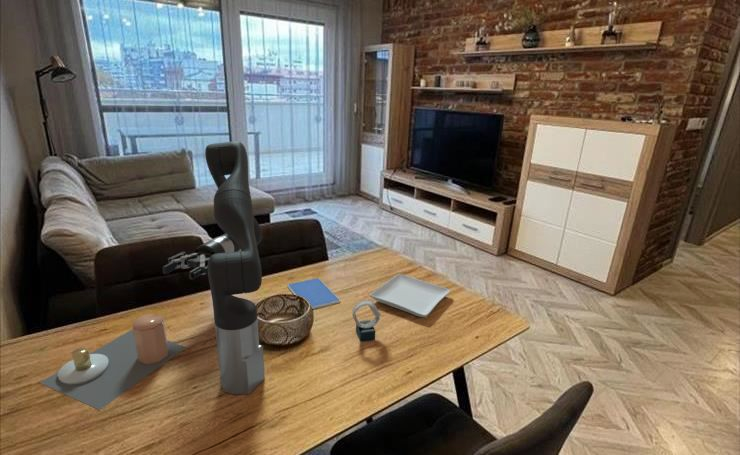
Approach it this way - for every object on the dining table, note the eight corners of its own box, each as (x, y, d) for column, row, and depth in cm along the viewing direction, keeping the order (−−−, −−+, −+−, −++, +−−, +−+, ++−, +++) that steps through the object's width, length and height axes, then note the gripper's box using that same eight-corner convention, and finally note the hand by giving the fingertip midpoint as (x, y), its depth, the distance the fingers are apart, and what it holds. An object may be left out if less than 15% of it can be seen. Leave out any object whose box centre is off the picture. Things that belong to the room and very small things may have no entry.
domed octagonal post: (173, 351, 104) (168, 317, 100) (152, 366, 98) (146, 331, 95) (155, 344, 106) (149, 311, 103) (133, 359, 100) (126, 324, 97)
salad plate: (450, 297, 139) (452, 288, 138) (425, 324, 122) (426, 314, 121) (398, 280, 150) (398, 272, 148) (367, 303, 132) (368, 294, 131)
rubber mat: (187, 348, 106) (186, 347, 106) (99, 412, 85) (99, 409, 84) (133, 330, 112) (132, 328, 112) (39, 384, 91) (39, 382, 91)
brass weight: (94, 364, 96) (91, 349, 95) (81, 372, 93) (77, 357, 92) (85, 361, 97) (82, 346, 96) (72, 369, 94) (68, 353, 93)
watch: (381, 339, 113) (383, 305, 110) (354, 342, 111) (355, 308, 108) (376, 328, 118) (377, 295, 115) (349, 331, 116) (350, 298, 113)
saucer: (118, 363, 98) (117, 360, 98) (77, 389, 90) (76, 386, 89) (90, 353, 102) (90, 349, 101) (48, 377, 93) (47, 373, 93)
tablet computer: (286, 286, 142) (286, 283, 141) (318, 279, 148) (318, 276, 147) (306, 312, 126) (305, 309, 126) (341, 303, 132) (341, 300, 132)
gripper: (194, 236, 121) (153, 256, 107) (234, 243, 118) (197, 265, 103) (197, 259, 124) (157, 281, 109) (236, 266, 120) (200, 290, 105)
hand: (176, 273), depth 106 cm, fingers open, 8 cm apart
